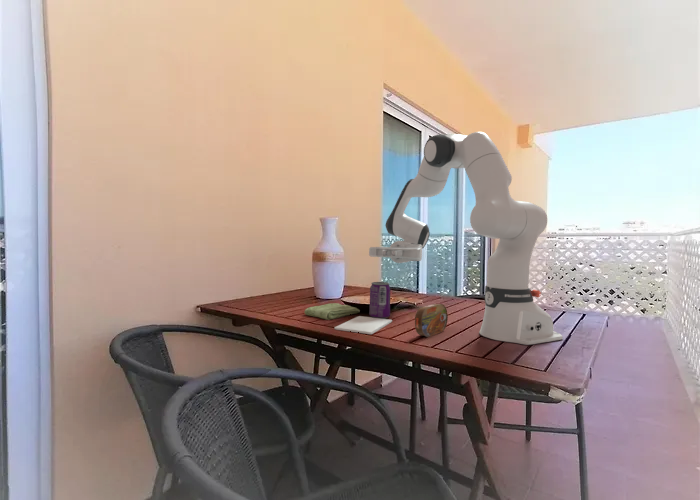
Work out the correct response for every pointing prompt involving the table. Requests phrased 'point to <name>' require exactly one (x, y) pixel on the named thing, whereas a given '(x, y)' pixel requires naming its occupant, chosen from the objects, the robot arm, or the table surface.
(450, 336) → the table surface
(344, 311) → the washcloth
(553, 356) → the table surface
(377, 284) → the beverage can
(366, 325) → the white rectangular slab
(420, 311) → the tin
